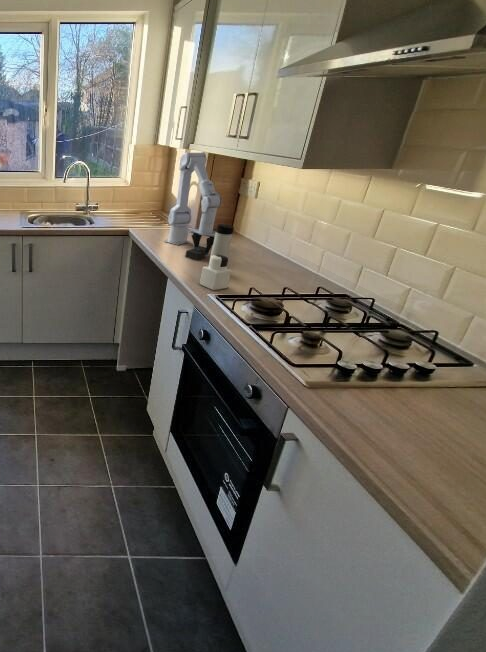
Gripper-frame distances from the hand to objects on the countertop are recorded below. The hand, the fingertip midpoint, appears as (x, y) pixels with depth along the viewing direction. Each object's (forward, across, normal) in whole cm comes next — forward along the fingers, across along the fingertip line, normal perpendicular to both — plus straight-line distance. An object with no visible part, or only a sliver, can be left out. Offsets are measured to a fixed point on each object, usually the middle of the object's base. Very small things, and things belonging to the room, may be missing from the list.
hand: (201, 251), depth 192 cm
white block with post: (+2, +24, -32) cm, 40 cm away
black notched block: (+2, 0, -5) cm, 6 cm away
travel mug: (+2, +16, -16) cm, 23 cm away
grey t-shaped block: (+1, 0, -1) cm, 2 cm away
